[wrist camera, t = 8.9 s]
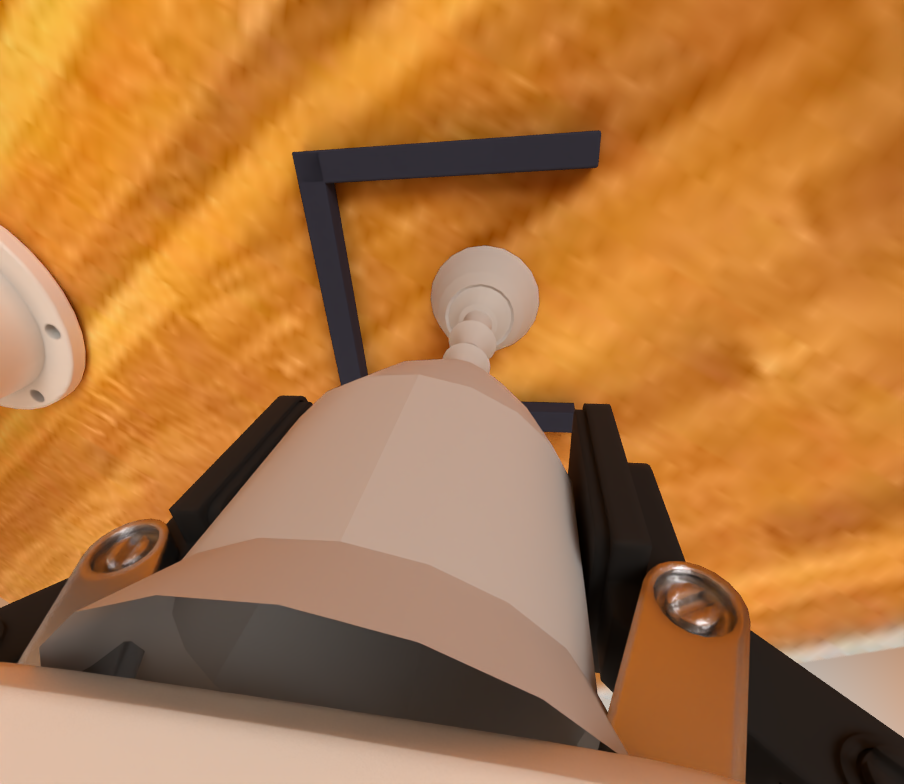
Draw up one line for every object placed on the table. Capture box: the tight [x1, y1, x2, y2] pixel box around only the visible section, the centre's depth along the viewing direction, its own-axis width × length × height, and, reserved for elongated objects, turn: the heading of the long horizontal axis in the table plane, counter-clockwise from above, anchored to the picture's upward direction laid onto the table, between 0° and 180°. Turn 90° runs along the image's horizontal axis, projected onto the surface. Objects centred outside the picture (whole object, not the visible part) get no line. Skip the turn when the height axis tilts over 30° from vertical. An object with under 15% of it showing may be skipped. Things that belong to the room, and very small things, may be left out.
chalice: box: [39, 246, 628, 755], centre depth 13 cm, size 7×7×18 cm
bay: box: [292, 131, 601, 433], centre depth 20 cm, size 12×13×1 cm
